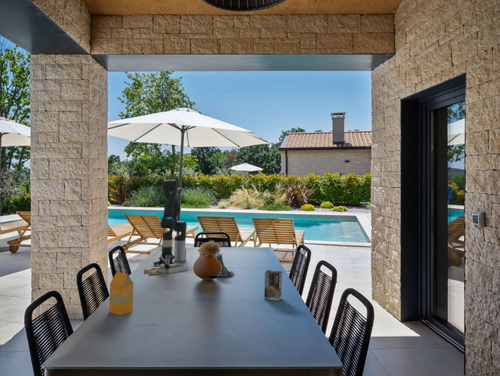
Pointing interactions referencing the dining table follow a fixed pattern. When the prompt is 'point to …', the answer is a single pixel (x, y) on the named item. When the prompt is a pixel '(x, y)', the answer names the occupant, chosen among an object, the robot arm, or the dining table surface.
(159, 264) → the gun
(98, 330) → the dining table surface
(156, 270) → the slotted rail
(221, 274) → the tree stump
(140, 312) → the dining table surface
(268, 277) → the coffee box
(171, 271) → the tray
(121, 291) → the orange juice
